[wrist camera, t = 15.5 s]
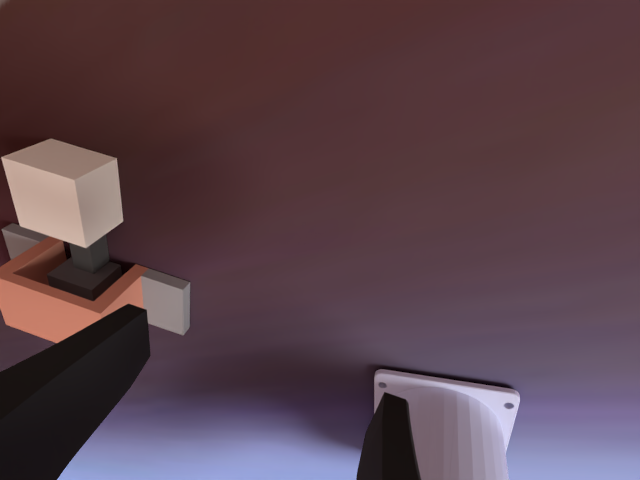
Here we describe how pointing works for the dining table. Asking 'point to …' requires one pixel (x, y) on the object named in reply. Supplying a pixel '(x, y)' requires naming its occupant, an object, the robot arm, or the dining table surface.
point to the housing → (73, 311)
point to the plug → (69, 209)
